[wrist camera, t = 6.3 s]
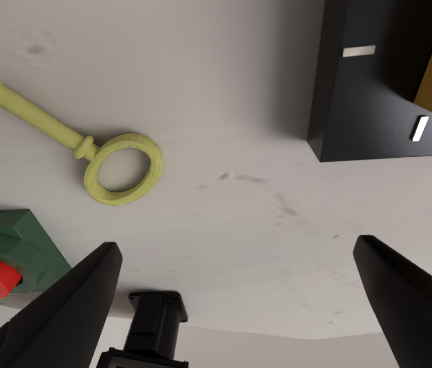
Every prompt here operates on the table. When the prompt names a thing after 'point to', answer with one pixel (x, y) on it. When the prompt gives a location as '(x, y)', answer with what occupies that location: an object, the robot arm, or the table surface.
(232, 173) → the table surface
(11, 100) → the key
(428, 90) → the switch box
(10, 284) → the button
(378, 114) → the black flat block
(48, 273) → the button block
